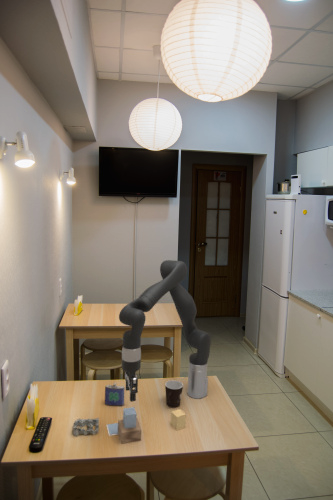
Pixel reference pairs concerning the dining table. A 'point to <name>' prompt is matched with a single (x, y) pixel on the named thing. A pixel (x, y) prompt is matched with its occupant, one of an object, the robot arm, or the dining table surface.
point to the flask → (114, 395)
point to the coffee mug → (173, 393)
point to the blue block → (129, 417)
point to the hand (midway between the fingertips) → (130, 395)
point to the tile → (112, 429)
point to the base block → (129, 432)
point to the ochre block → (178, 419)
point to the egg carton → (89, 426)
